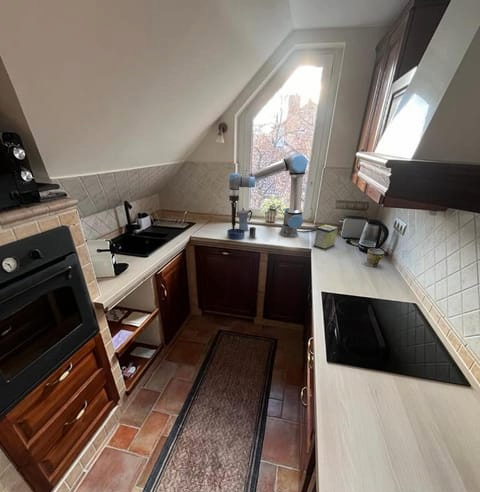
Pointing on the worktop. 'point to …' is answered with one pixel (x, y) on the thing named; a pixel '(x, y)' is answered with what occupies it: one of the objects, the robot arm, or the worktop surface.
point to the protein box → (325, 236)
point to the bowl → (237, 236)
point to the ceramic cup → (374, 257)
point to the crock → (252, 232)
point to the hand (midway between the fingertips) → (233, 224)
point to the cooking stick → (233, 228)
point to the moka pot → (243, 219)
